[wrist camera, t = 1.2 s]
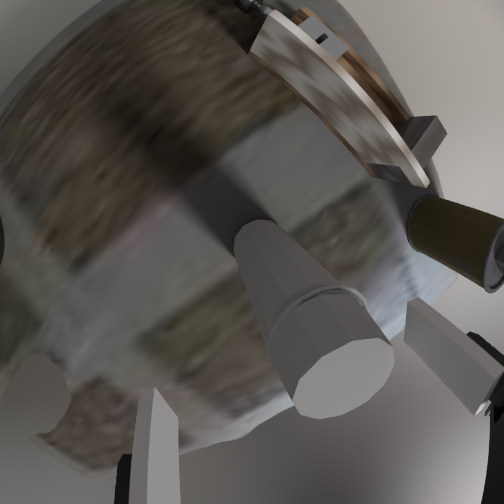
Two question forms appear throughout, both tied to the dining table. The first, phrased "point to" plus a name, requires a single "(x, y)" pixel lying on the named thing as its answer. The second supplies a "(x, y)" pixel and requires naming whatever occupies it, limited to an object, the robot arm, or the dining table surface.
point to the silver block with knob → (302, 28)
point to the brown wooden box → (349, 100)
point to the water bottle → (311, 324)
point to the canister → (459, 239)
